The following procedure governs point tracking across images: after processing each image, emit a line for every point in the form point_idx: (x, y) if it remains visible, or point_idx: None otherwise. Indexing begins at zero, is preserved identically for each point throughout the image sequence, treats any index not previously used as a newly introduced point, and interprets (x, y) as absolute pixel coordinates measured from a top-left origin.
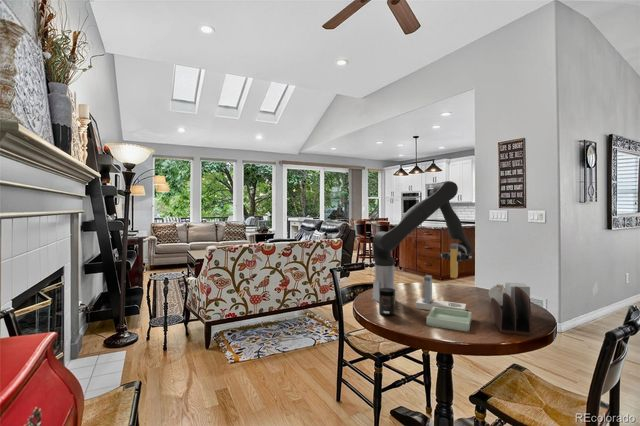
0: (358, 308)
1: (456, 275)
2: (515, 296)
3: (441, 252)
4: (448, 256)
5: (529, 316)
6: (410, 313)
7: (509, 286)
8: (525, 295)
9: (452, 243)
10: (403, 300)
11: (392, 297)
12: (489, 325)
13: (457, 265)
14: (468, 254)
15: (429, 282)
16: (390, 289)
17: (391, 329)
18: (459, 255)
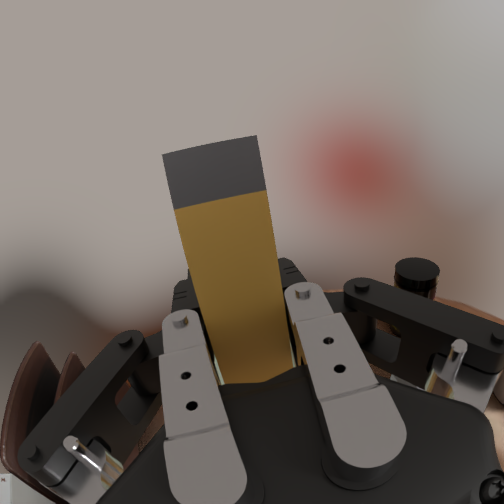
0: (468, 305)
1: None
2: (30, 475)
3: (481, 318)
4: (280, 259)
5: (59, 373)
6: (379, 369)
7: (15, 494)
8: (30, 354)
9: (243, 138)
10: (494, 434)
11: (394, 283)
12: (153, 423)
13: None
14: (64, 402)
15: (392, 377)
16: (416, 273)
17: (332, 290)
18: (183, 313)
